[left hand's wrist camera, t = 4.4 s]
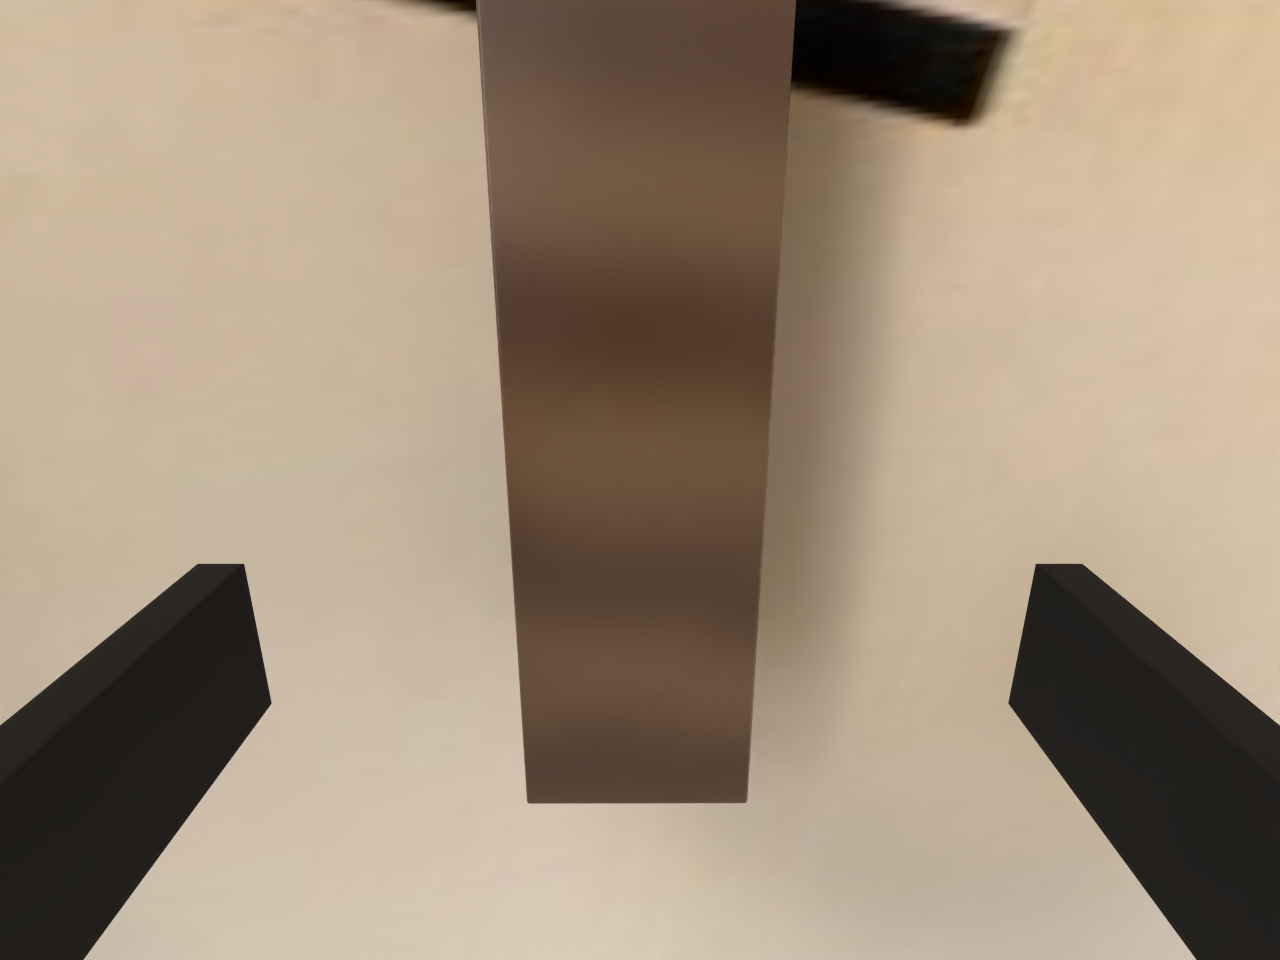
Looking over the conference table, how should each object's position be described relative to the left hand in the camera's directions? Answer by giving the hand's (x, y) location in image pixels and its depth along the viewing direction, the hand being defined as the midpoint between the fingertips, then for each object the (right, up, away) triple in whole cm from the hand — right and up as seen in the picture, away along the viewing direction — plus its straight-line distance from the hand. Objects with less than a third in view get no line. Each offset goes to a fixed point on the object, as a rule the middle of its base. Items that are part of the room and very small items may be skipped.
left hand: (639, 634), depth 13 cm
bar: (0, +30, +2) cm, 30 cm away
